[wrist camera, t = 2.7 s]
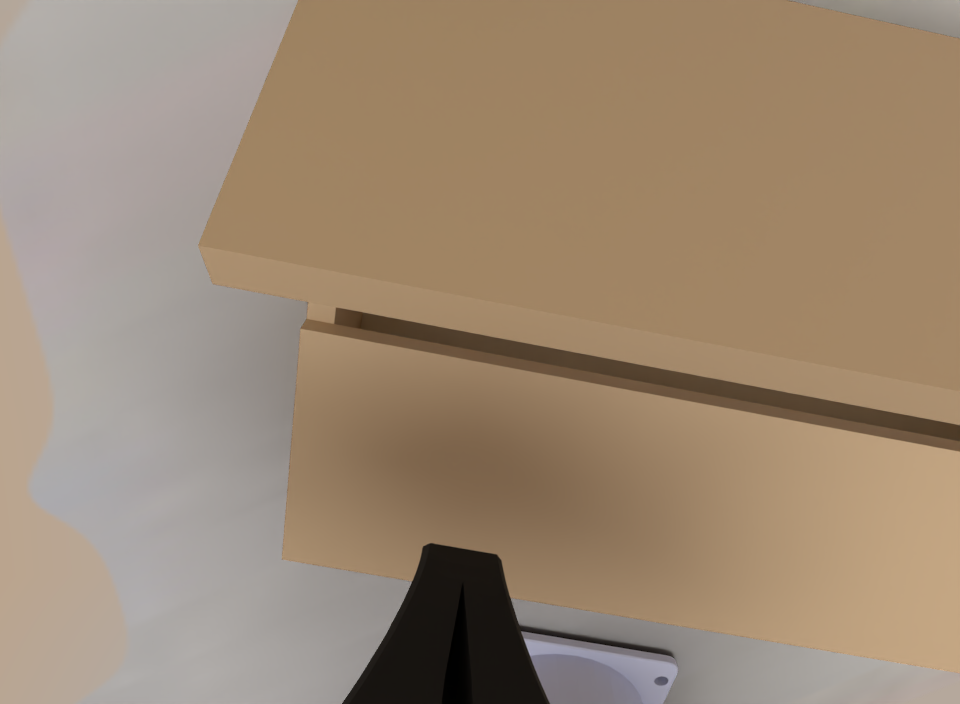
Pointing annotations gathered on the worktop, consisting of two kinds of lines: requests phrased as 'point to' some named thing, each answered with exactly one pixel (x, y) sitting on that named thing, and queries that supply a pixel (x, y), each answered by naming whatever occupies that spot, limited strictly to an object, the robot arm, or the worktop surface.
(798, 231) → the flap
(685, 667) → the worktop surface
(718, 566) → the carton
